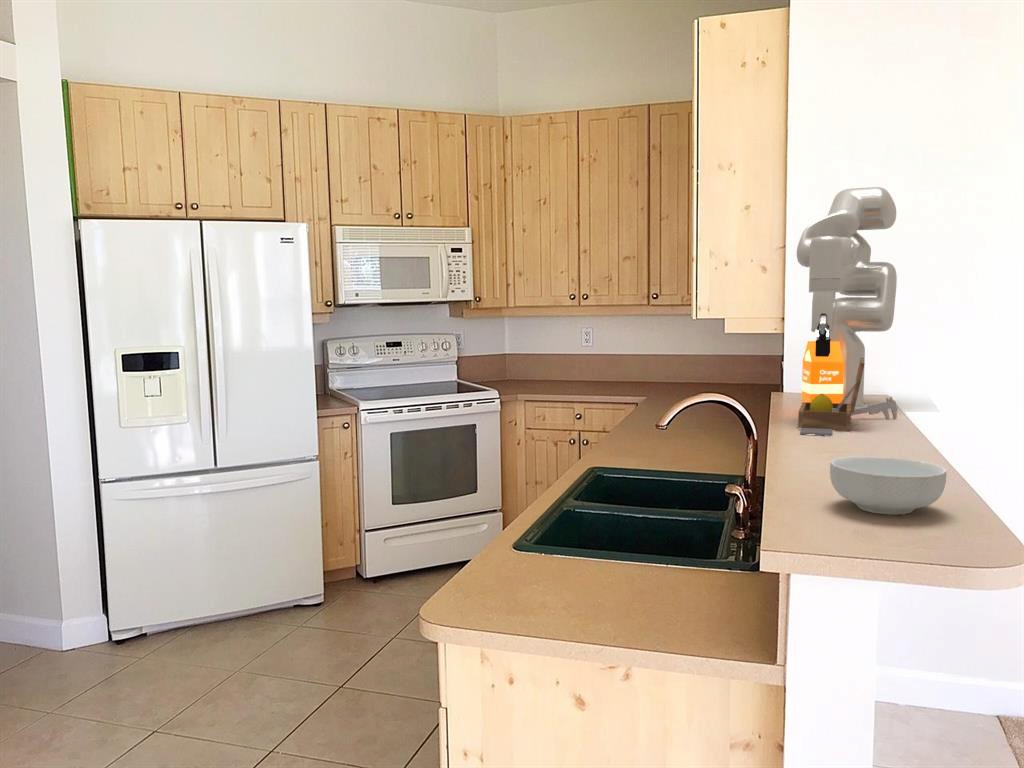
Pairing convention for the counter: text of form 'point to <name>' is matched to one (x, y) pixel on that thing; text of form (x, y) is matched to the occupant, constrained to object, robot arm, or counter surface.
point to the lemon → (821, 403)
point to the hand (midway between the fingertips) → (822, 355)
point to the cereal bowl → (887, 483)
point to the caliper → (879, 408)
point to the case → (840, 411)
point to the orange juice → (823, 373)
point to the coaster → (816, 431)
